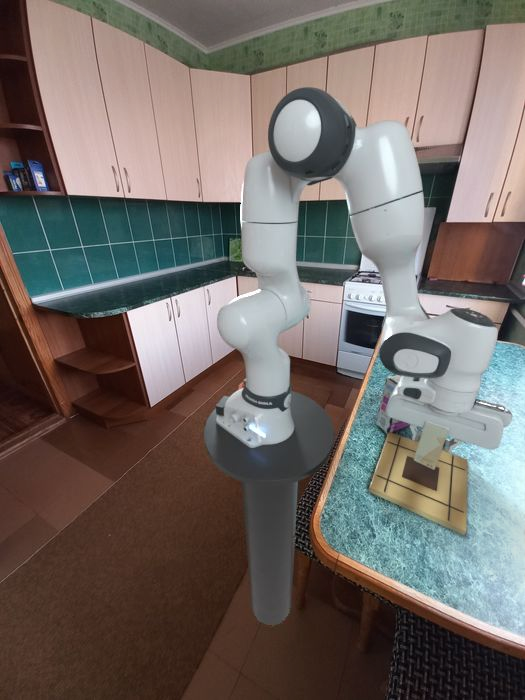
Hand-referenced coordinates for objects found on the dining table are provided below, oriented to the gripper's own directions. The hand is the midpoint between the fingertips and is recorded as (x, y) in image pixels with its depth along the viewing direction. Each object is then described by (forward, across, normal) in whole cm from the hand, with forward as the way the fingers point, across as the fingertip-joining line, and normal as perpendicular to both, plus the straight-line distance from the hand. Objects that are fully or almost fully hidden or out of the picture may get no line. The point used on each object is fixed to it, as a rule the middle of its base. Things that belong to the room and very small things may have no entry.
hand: (430, 444), depth 62 cm
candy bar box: (+10, +8, -16) cm, 21 cm away
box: (+4, 0, 0) cm, 4 cm away
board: (+10, 0, 0) cm, 10 cm away
